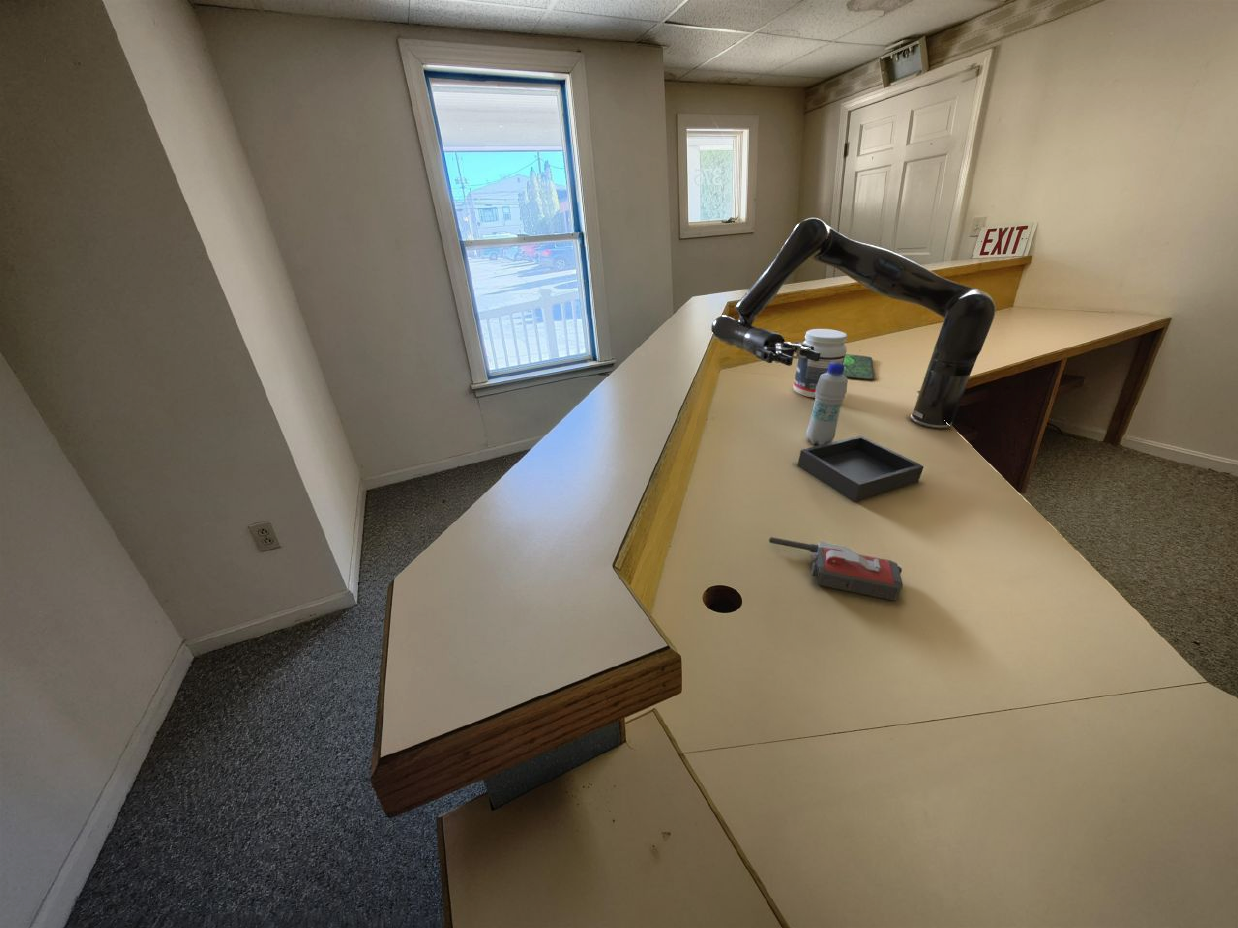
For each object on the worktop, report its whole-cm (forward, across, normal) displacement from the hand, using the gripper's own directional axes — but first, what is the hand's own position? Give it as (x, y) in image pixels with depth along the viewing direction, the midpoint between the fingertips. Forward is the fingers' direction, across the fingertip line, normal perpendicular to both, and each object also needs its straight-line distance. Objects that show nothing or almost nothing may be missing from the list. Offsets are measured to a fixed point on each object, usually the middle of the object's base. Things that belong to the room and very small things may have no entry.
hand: (805, 359), depth 111 cm
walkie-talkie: (+46, -32, +18) cm, 59 cm away
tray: (+24, -4, +18) cm, 31 cm away
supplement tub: (-18, +24, +18) cm, 35 cm away
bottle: (+10, 0, +18) cm, 21 cm away
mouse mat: (-35, +52, +18) cm, 65 cm away
